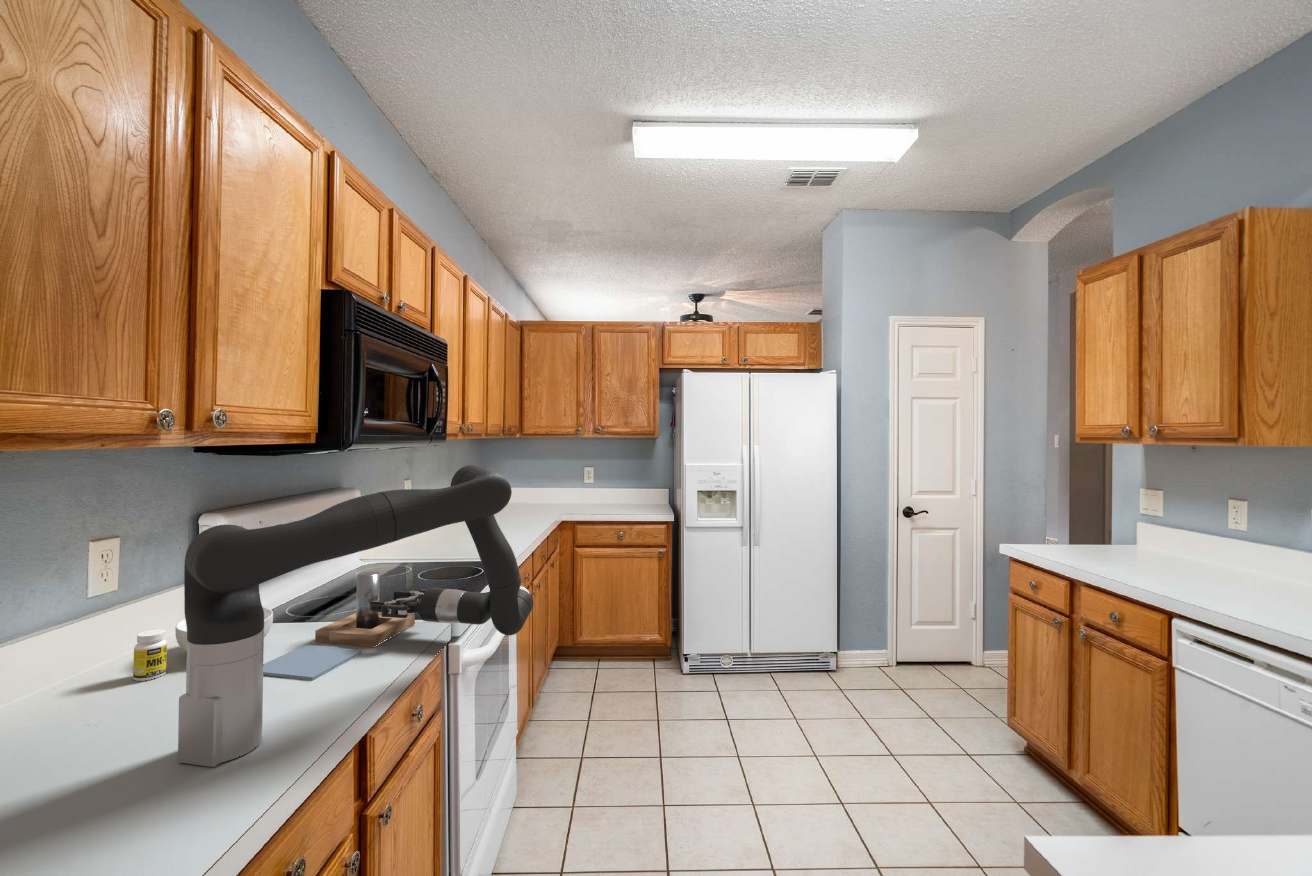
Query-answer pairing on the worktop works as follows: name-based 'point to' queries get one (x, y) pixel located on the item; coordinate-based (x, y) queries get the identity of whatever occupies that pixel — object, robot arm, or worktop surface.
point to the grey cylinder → (367, 600)
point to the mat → (308, 662)
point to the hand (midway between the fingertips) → (383, 600)
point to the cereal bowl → (182, 628)
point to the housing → (362, 631)
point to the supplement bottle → (150, 655)
